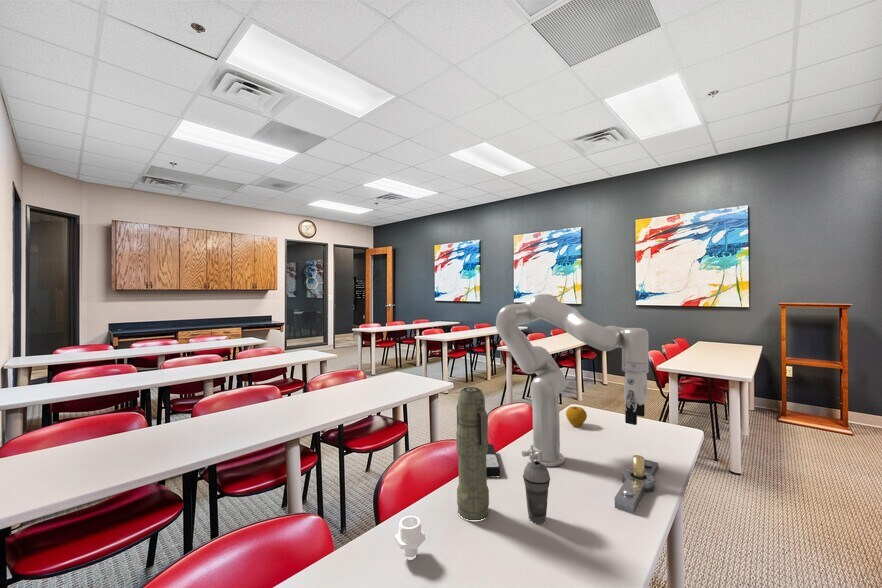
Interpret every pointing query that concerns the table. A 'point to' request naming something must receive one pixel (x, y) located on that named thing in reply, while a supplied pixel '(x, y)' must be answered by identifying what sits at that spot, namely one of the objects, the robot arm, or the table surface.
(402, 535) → the pipe fitting
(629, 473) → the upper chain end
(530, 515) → the mini scuba tank
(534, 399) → the robot arm
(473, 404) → the thermos
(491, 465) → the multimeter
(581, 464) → the table surface
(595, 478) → the table surface
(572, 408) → the apple
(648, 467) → the lower chain end
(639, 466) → the brass pin
